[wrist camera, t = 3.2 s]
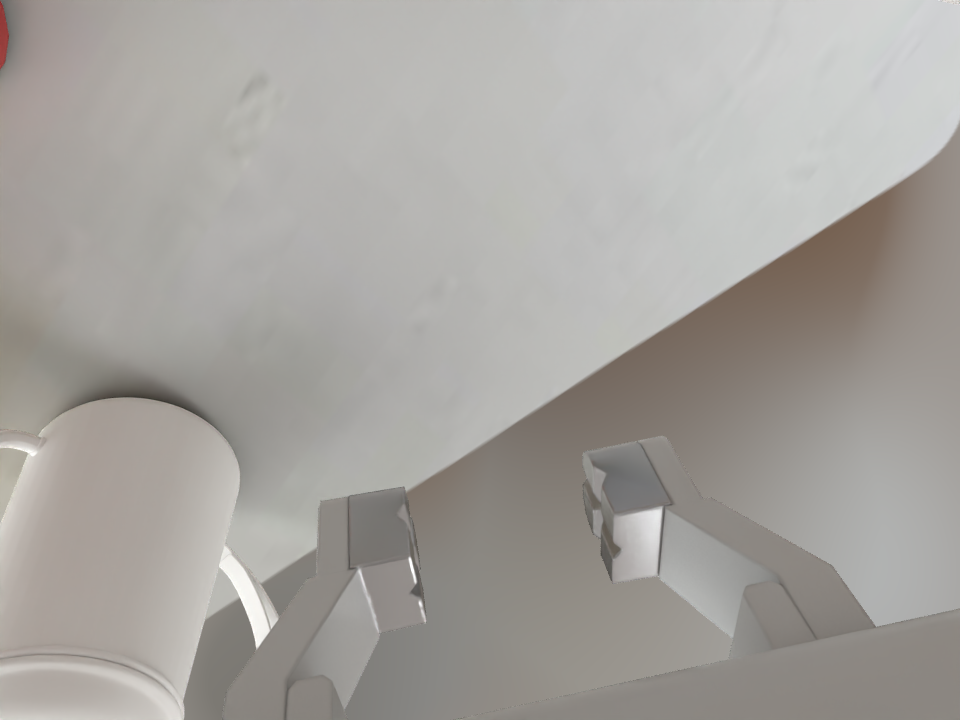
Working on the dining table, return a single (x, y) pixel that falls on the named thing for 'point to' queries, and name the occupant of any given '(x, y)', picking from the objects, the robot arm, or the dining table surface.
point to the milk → (951, 1)
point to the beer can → (3, 36)
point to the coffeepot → (115, 561)
